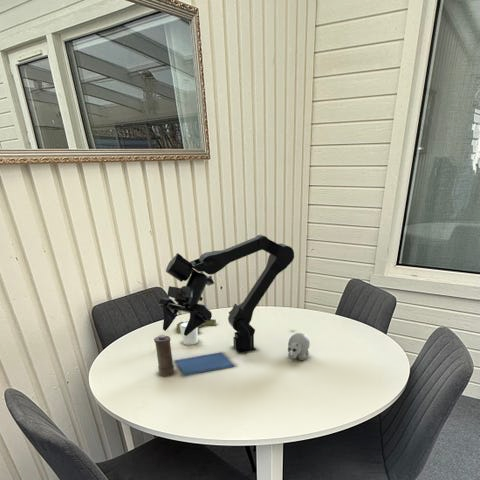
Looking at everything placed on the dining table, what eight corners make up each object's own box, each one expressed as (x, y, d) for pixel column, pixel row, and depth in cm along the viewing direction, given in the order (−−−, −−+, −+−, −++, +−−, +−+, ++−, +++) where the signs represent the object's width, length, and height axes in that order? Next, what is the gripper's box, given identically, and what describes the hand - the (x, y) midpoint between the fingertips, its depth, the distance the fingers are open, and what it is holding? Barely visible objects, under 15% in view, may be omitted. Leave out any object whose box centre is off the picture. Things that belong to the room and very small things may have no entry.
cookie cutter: (194, 335, 164) (194, 331, 163) (171, 331, 169) (170, 326, 168) (219, 323, 177) (219, 318, 176) (197, 319, 182) (196, 314, 181)
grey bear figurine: (279, 364, 137) (279, 340, 133) (292, 352, 146) (293, 328, 142) (299, 368, 134) (300, 343, 130) (311, 355, 143) (313, 331, 139)
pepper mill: (172, 368, 137) (167, 332, 131) (176, 374, 133) (171, 337, 127) (157, 371, 136) (152, 335, 129) (161, 377, 132) (155, 340, 125)
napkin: (221, 353, 148) (221, 352, 147) (234, 366, 137) (234, 365, 137) (175, 361, 143) (174, 360, 142) (184, 375, 132) (184, 374, 132)
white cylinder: (196, 345, 155) (194, 327, 151) (178, 344, 156) (176, 326, 152) (201, 339, 160) (199, 321, 157) (184, 338, 162) (182, 321, 158)
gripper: (158, 272, 131) (138, 315, 130) (203, 278, 122) (181, 325, 120) (178, 291, 141) (159, 332, 139) (221, 298, 131) (201, 342, 130)
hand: (174, 332), depth 132 cm, fingers open, 9 cm apart
